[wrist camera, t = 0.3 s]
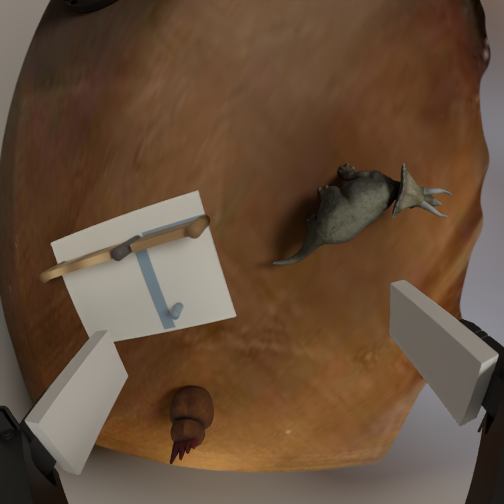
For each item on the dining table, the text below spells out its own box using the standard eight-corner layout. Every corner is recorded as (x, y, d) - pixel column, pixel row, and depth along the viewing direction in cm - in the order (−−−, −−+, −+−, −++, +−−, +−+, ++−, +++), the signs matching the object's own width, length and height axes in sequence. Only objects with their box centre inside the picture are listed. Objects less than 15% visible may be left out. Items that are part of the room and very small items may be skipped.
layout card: (52, 242, 38) (40, 247, 35) (198, 190, 37) (193, 191, 34) (94, 343, 43) (85, 354, 40) (236, 315, 42) (235, 326, 38)
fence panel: (125, 239, 38) (106, 250, 32) (128, 249, 38) (110, 261, 32) (60, 262, 38) (38, 274, 33) (63, 270, 39) (41, 283, 33)
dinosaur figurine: (273, 263, 40) (282, 295, 29) (246, 205, 38) (247, 217, 27) (410, 201, 38) (457, 211, 27) (391, 145, 36) (436, 139, 25)
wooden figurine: (179, 405, 46) (163, 470, 32) (173, 381, 45) (152, 448, 30) (217, 405, 46) (210, 473, 32) (213, 381, 45) (203, 451, 30)
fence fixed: (131, 236, 39) (109, 249, 31) (208, 213, 38) (199, 221, 31) (135, 247, 39) (113, 262, 32) (211, 224, 39) (203, 236, 31)
